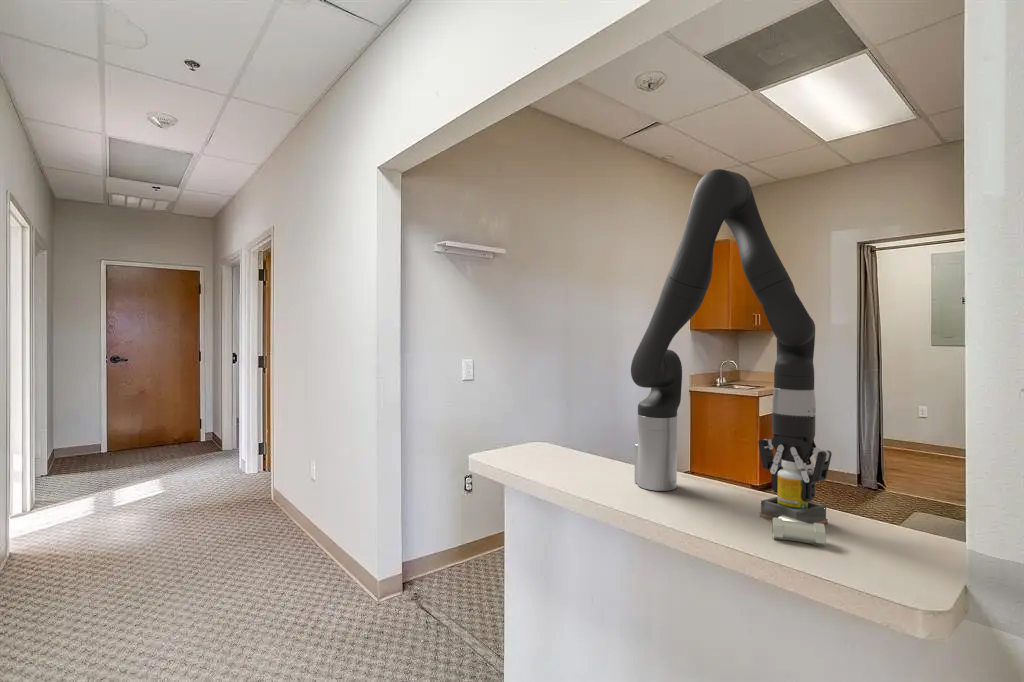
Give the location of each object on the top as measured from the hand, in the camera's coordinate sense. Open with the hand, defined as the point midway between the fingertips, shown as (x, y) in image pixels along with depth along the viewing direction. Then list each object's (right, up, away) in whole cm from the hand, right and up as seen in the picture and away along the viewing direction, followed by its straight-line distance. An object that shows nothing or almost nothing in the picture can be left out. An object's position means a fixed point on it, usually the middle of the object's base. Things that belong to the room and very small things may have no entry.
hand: (792, 496), depth 102 cm
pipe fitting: (-4, -5, -9) cm, 11 cm away
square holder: (0, -5, 0) cm, 5 cm away
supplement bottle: (0, -3, 0) cm, 3 cm away
